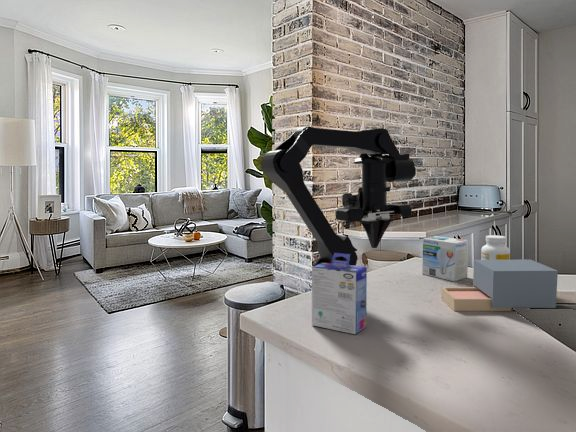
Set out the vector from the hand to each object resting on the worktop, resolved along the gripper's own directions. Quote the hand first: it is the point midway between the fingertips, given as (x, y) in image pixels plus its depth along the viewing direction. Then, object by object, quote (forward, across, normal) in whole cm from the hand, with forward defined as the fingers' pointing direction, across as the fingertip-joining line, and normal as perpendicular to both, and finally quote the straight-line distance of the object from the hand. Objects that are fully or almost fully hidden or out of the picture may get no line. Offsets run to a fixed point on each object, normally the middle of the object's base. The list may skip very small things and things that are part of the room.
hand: (374, 247), depth 99 cm
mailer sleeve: (+12, -23, +20) cm, 33 cm away
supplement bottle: (+12, -33, +8) cm, 36 cm away
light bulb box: (+12, -29, -5) cm, 32 cm away
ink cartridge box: (+12, +18, +12) cm, 25 cm away
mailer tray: (+12, -16, +16) cm, 25 cm away
